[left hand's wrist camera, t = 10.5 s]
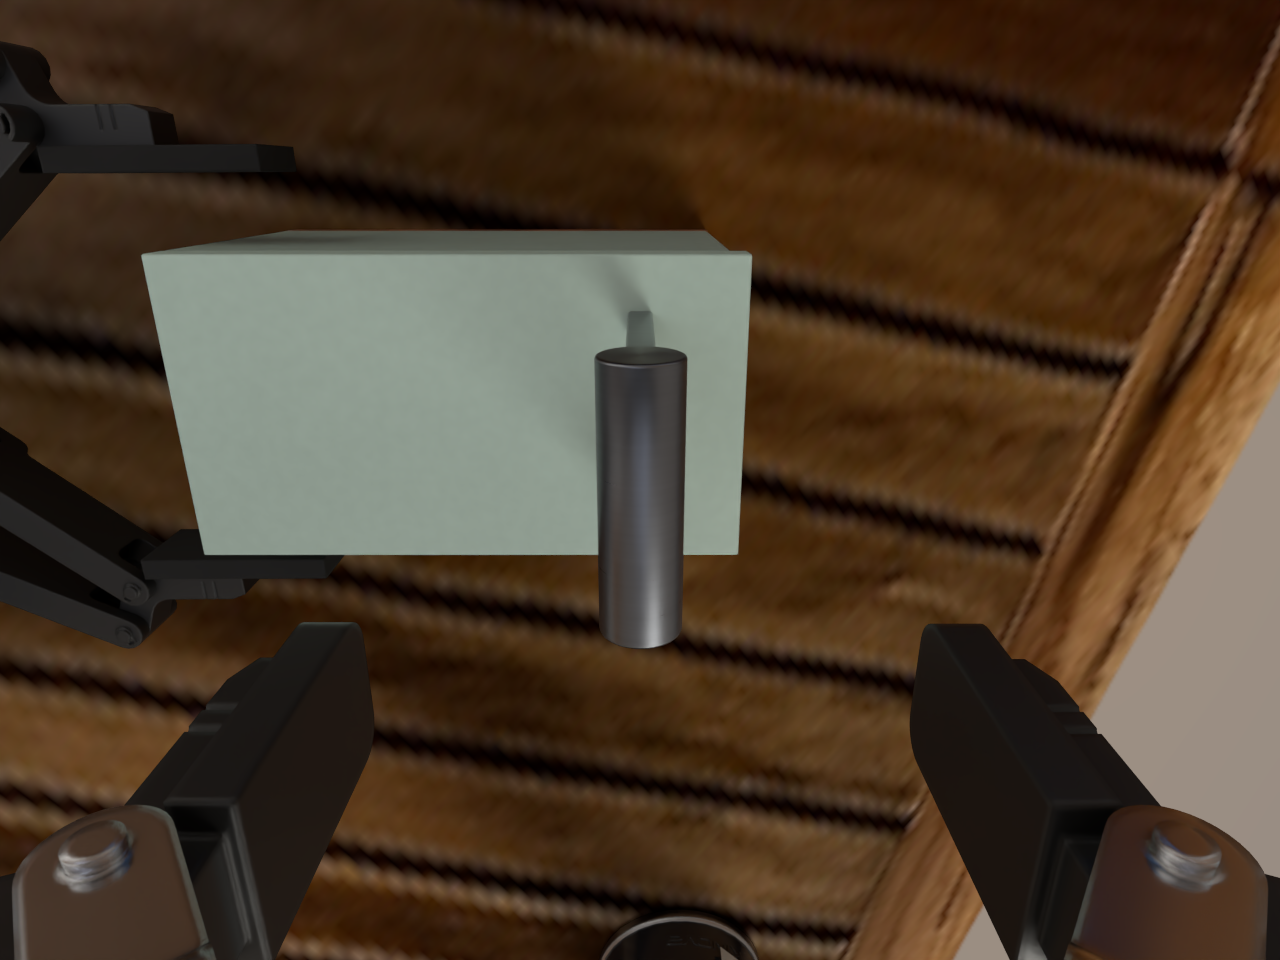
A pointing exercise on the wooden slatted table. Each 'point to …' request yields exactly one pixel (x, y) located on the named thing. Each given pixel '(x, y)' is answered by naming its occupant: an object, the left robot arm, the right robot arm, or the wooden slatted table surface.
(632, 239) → the chest
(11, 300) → the wooden slatted table surface
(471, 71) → the wooden slatted table surface
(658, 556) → the lid
